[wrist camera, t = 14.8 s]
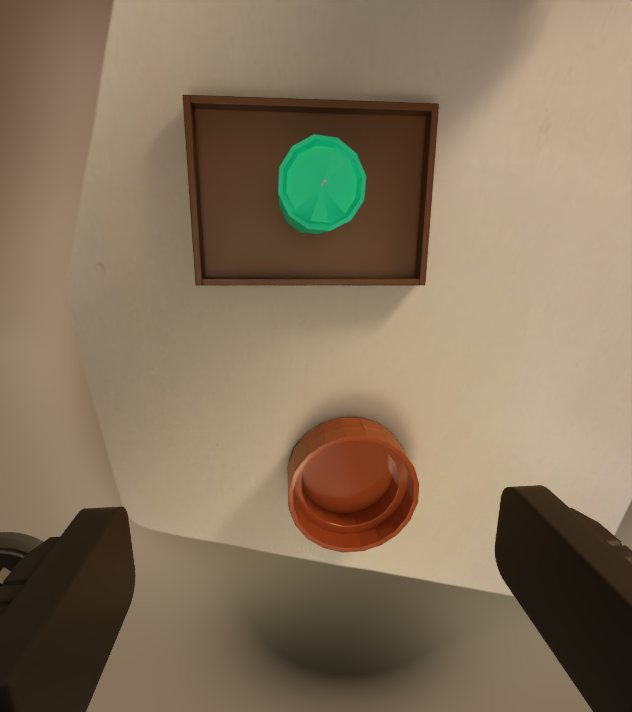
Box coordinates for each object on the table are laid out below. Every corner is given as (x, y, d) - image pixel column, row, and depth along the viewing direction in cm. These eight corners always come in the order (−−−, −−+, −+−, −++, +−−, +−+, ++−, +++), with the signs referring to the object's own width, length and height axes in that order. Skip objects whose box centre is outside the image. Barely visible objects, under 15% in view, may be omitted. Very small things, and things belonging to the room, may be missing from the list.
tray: (199, 283, 39) (195, 285, 37) (188, 103, 35) (182, 94, 33) (418, 283, 41) (425, 285, 39) (430, 111, 37) (439, 103, 35)
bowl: (288, 523, 47) (289, 555, 42) (287, 416, 43) (287, 438, 39) (400, 518, 48) (414, 548, 43) (408, 413, 44) (423, 434, 40)
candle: (271, 171, 37) (267, 138, 25) (338, 158, 37) (363, 119, 25) (286, 240, 38) (287, 238, 27) (349, 227, 38) (378, 220, 27)
